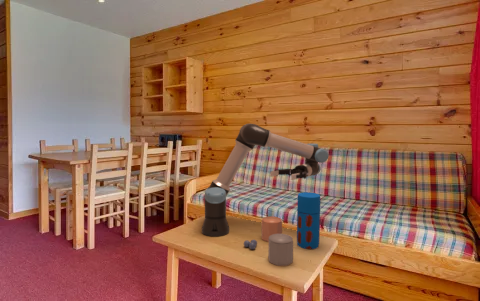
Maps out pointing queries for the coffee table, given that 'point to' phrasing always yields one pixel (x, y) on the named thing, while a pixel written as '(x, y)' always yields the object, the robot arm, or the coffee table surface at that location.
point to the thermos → (308, 220)
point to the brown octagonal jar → (280, 249)
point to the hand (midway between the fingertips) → (281, 175)
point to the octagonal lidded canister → (271, 227)
